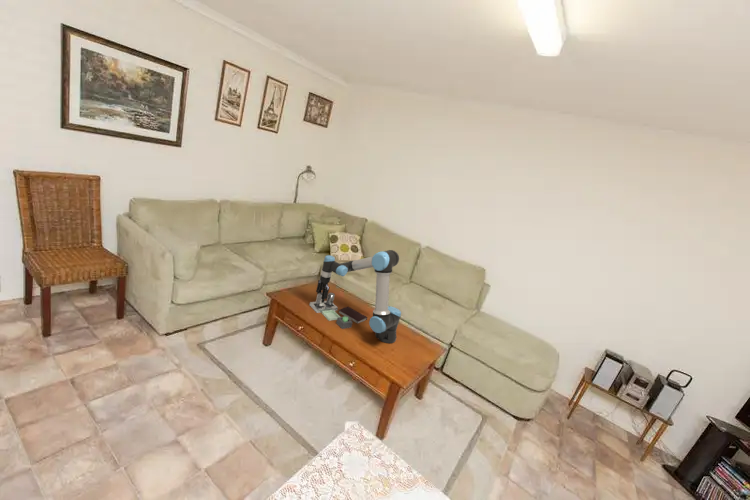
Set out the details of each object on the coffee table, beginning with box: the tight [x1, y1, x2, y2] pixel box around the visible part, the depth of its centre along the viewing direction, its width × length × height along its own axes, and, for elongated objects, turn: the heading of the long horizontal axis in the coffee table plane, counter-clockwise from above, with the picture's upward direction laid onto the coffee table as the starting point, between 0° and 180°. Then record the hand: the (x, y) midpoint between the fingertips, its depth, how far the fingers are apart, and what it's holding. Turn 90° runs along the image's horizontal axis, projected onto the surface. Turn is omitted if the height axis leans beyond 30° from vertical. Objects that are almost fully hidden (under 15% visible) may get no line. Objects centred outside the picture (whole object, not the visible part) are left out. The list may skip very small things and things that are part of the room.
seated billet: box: [325, 292, 336, 307], centre depth 269 cm, size 5×5×12 cm
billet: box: [315, 291, 322, 308], centre depth 263 cm, size 5×5×12 cm
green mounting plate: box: [321, 310, 341, 322], centre depth 258 cm, size 11×10×2 cm
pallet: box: [309, 300, 339, 314], centre depth 267 cm, size 12×18×3 cm, turn 128°
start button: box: [342, 315, 348, 322], centre depth 249 cm, size 4×4×5 cm
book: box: [338, 306, 368, 324], centre depth 267 cm, size 12×19×3 cm, turn 57°
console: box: [335, 316, 354, 330], centre depth 250 cm, size 8×8×5 cm
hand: (319, 303), depth 263 cm, fingers closed on billet, 5 cm apart
